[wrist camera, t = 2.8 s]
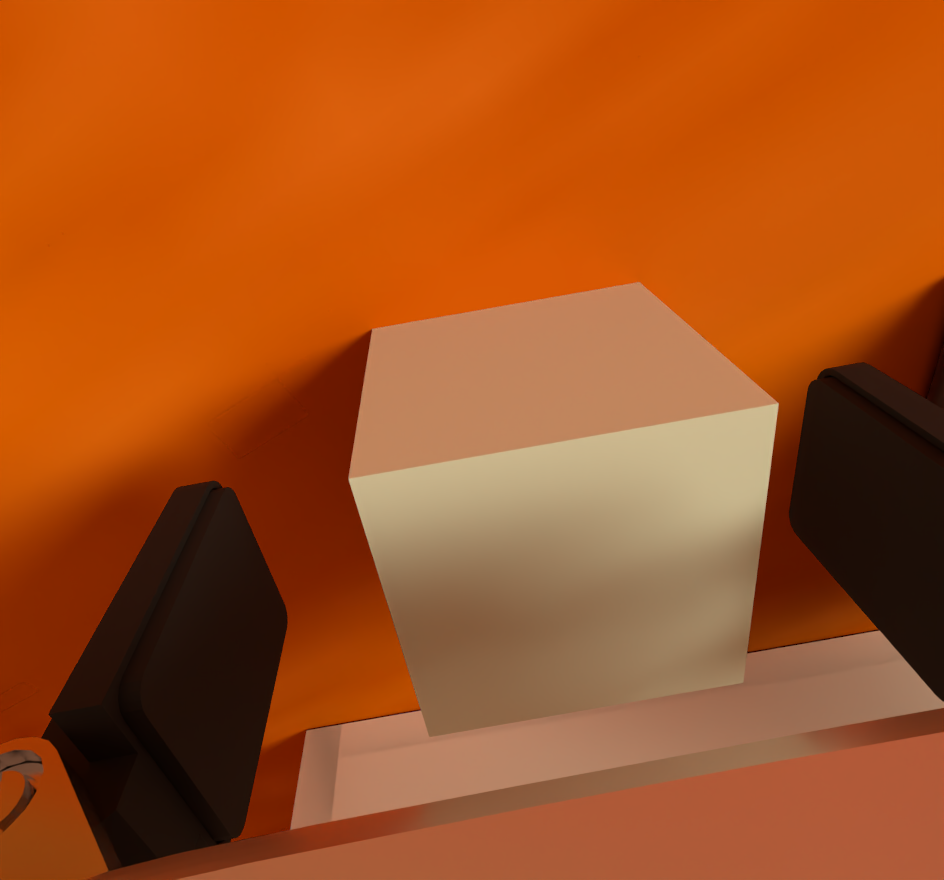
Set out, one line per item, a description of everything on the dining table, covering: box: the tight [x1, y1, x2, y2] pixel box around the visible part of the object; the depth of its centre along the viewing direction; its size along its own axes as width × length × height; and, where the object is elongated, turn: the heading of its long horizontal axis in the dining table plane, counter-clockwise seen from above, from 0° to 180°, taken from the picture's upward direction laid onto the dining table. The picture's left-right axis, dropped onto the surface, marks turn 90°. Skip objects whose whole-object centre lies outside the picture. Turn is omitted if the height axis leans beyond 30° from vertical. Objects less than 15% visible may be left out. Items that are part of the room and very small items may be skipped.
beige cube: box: [348, 282, 779, 737], centre depth 10 cm, size 5×5×5 cm
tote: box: [290, 630, 944, 830], centre depth 18 cm, size 30×14×6 cm, turn 99°
